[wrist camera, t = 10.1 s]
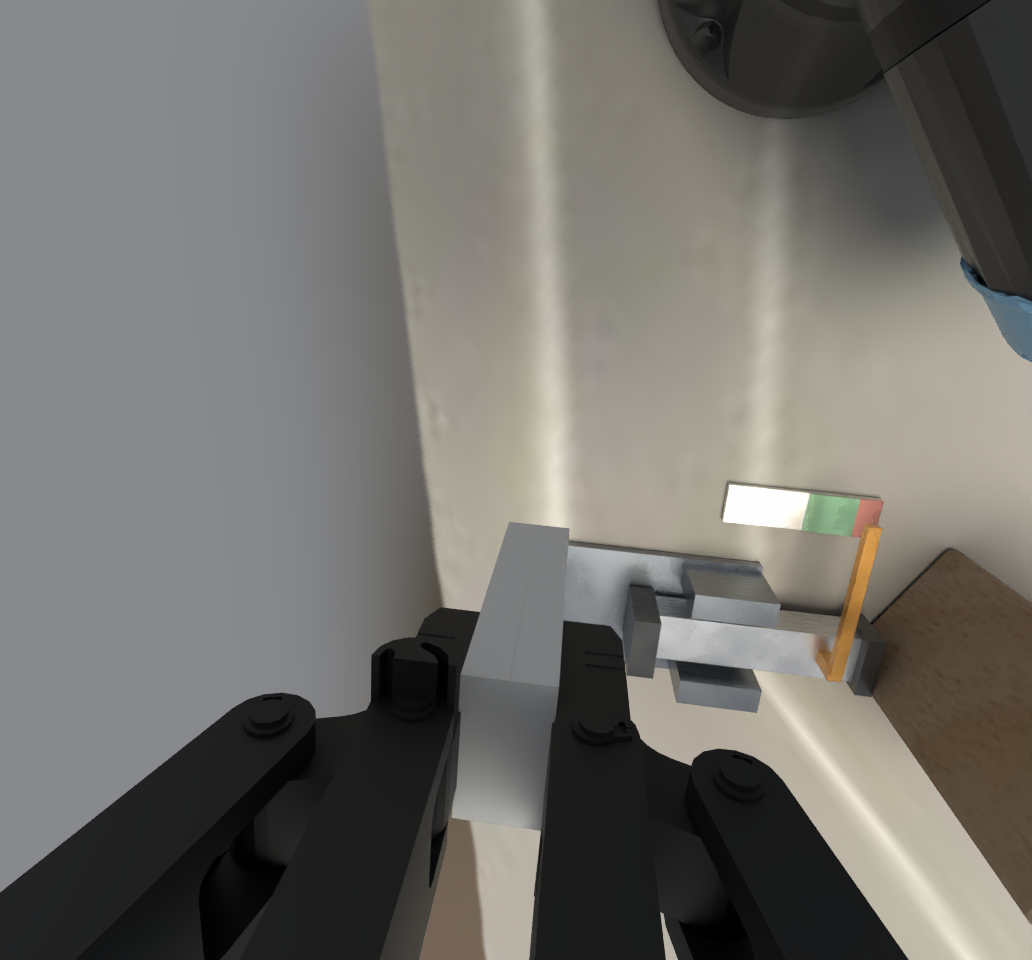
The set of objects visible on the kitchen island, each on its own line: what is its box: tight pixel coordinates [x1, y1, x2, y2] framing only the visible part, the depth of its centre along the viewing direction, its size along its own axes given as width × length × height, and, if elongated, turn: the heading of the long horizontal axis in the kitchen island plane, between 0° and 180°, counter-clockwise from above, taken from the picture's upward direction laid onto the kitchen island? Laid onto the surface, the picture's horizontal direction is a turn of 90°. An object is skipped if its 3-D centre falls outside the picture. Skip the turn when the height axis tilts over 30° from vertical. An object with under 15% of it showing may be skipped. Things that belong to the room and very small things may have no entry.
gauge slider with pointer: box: [623, 524, 886, 697], centre depth 40 cm, size 11×15×5 cm
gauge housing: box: [563, 482, 884, 713], centre depth 41 cm, size 14×20×5 cm
